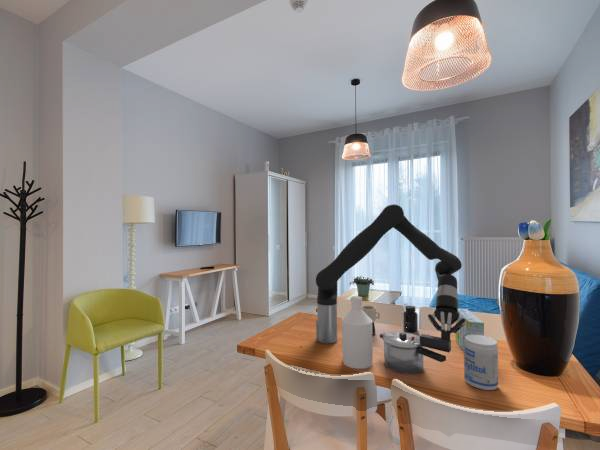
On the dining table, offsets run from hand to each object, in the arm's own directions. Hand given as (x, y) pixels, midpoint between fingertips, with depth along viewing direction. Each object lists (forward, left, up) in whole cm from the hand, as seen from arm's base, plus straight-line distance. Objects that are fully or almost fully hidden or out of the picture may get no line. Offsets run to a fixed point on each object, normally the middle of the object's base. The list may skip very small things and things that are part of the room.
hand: (445, 341), depth 102 cm
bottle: (-31, +2, -12) cm, 33 cm away
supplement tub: (+10, -3, -12) cm, 16 cm away
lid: (-10, +2, -2) cm, 10 cm away
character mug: (-29, +35, -12) cm, 47 cm away
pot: (-12, +2, -12) cm, 17 cm away
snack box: (+13, +26, -12) cm, 31 cm away
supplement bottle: (-9, +45, -12) cm, 47 cm away
